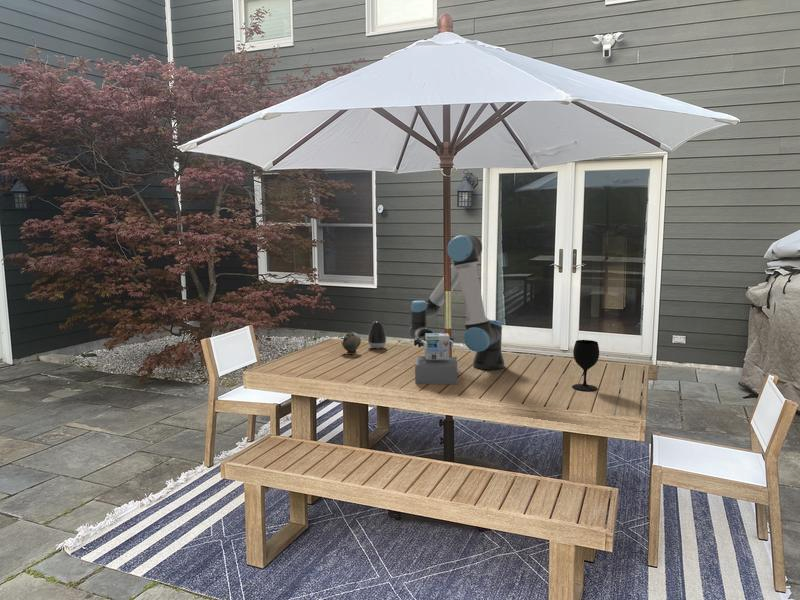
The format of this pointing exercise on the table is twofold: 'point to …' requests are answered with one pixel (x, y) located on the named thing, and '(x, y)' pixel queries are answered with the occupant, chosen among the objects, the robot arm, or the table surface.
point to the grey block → (436, 371)
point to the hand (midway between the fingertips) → (439, 345)
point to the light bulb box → (437, 346)
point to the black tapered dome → (377, 335)
